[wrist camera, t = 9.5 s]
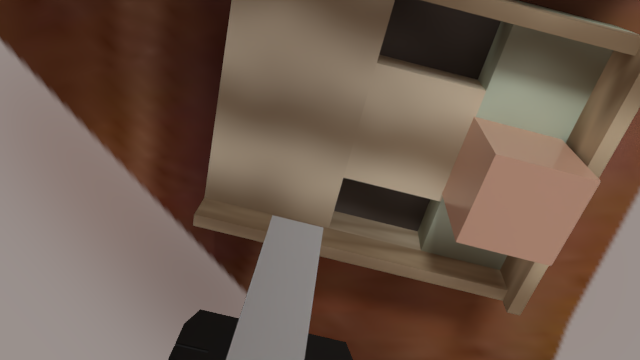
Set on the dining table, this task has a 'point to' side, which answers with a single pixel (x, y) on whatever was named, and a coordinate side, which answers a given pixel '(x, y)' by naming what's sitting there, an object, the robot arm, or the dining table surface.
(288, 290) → the robot arm
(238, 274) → the dining table surface
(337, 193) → the tray
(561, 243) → the terracotta block
